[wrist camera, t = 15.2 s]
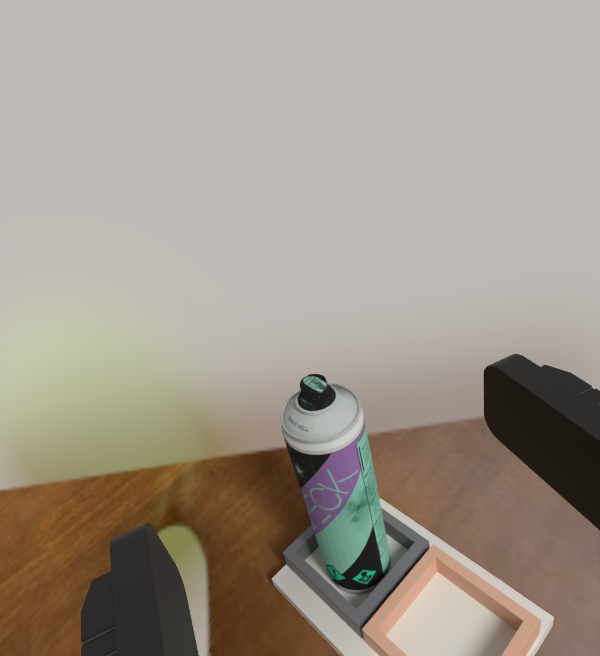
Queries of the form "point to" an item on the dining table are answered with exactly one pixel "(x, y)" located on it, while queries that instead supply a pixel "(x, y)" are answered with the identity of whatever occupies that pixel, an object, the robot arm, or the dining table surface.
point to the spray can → (337, 482)
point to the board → (413, 601)
